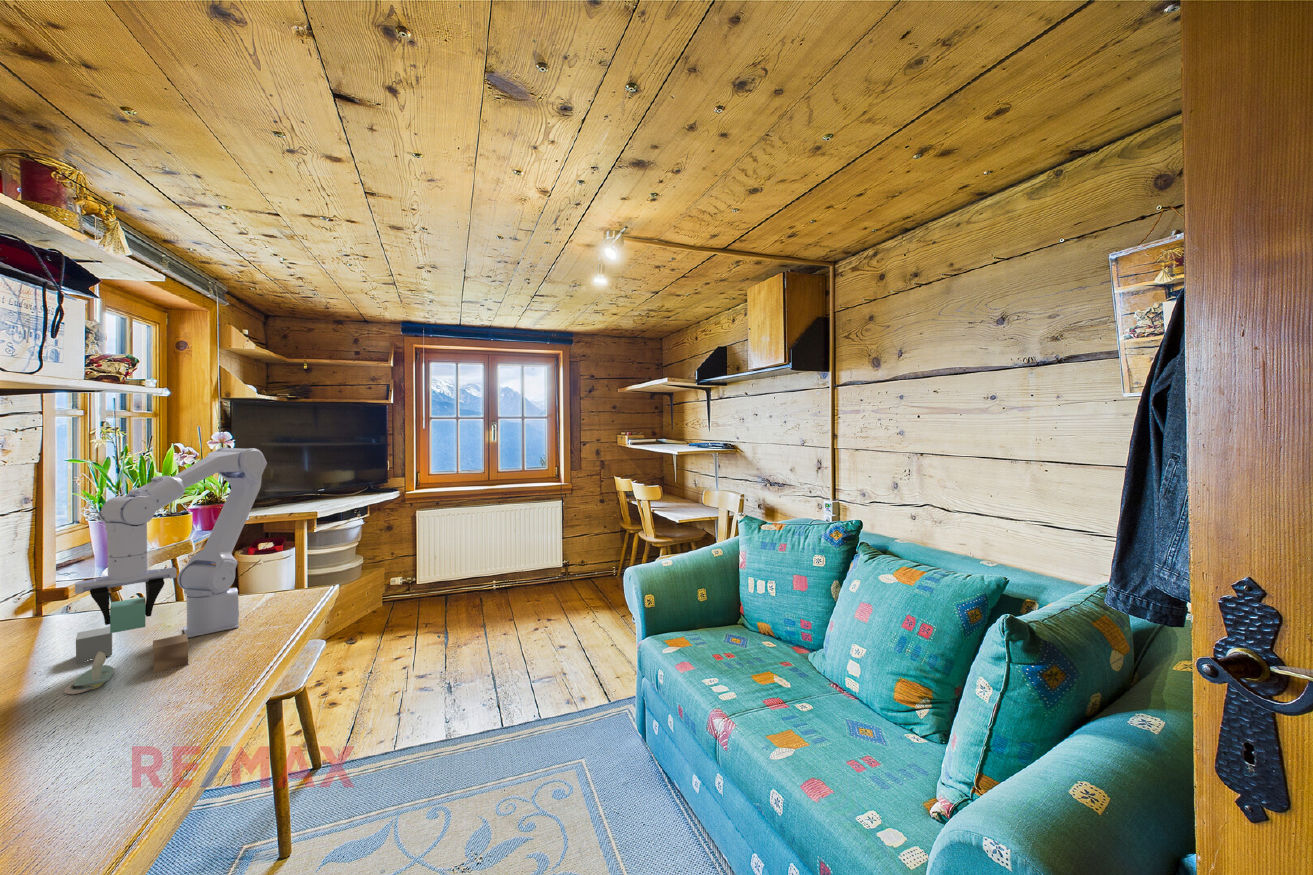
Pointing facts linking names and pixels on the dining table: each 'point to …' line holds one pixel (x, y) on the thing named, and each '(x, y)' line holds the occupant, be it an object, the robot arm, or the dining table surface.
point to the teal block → (127, 615)
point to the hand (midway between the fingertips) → (128, 619)
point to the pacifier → (92, 676)
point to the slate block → (93, 644)
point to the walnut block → (170, 653)
